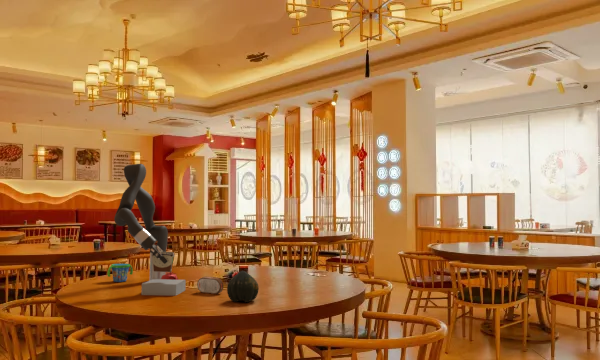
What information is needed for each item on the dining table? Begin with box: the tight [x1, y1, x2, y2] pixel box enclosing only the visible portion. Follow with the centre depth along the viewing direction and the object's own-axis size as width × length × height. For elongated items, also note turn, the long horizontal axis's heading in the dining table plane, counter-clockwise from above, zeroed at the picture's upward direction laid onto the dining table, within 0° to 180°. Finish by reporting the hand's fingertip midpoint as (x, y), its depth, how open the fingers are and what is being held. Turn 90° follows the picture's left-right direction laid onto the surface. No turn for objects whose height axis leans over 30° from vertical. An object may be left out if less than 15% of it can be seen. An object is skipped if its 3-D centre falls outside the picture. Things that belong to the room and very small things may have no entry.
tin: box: [196, 276, 224, 295], centre depth 266 cm, size 15×3×8 cm, turn 65°
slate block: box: [140, 279, 186, 297], centre depth 267 cm, size 16×18×6 cm
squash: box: [226, 270, 260, 303], centre depth 245 cm, size 14×15×15 cm
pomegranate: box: [161, 271, 179, 280], centre depth 287 cm, size 10×10×9 cm
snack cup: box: [107, 263, 134, 283], centre depth 305 cm, size 16×10×10 cm
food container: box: [151, 251, 176, 273], centre depth 268 cm, size 12×6×10 cm, turn 85°
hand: (167, 261), depth 268 cm, fingers closed on food container, 6 cm apart
